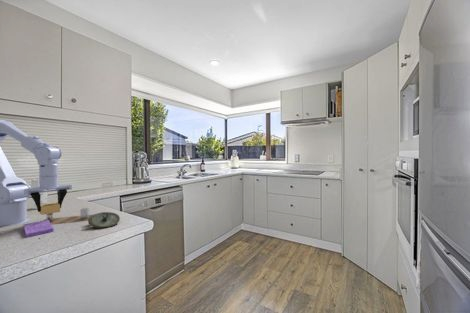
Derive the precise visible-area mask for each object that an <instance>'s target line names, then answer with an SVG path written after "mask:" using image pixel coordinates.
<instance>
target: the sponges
mask: <svg viewBox="0 0 470 313" xmlns="http://www.w3.org/2000/svg"><path fill="white" fill-rule="evenodd" d="M46 219H47V218H46ZM23 230H24V234H25V238H30V237H35V236H39V235H44V234H47V233H52V232H55V230H54V226H53V225H51V223H50V221H49V220H48V219H47V220H45V219H43V220H39V221H35V222H29V223H23Z"/></svg>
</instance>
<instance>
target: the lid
mask: <svg viewBox="0 0 470 313" xmlns="http://www.w3.org/2000/svg"><path fill="white" fill-rule="evenodd" d="M92 215H93V214H92ZM120 220H121V217H120V215H118V214H117V213H116V212H115V213H114V212H111V211H110V212H109V211H107V212H106V211H104V212H103V211H101V212H97V213H95V214H94V215H93V216H91V217H90V218H89V219H88V221H87V222H88V224H89V225H90V227H92V228H95V229H107V228H111V227H113V226H115V225H117V224H118V223H119V222H120Z"/></svg>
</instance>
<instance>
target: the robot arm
mask: <svg viewBox="0 0 470 313" xmlns="http://www.w3.org/2000/svg"><path fill="white" fill-rule="evenodd" d="M8 136H9V137H11V138H12V139H15V140H17V141H18V142H20V146H21V147H22V148H23V149H25V150H27V151H28V152H30V153H32V154H33V155H34V158H35V159H36V162H37V165H38V170H39V172H38V173H39V174H38V176H39V178H38V179H39V184H40V187H38V188H31V185H29V184H28V183H27V182H26V180H25V179H23V178H20V177H18V176H17V175H16V173H15V172H14V169H13V167H12V166H11V163H10V162H9V159H8V158H7V156H6V154H5V152H4V151H3V148H2V147H1V146H0V227H3V226H12V225H13V226H14V225H22V224H25V222H28V221H29V220H32V218H28V212H27V211H28V208H27V206H28V205H27V204H28V202H27V200H29V198H30V197H31V199H32V201H33V200H34V202H35V204H36V206H37V209H36V210H37V212H38V213H39V212H40V211H41V205H40V197H41V195H40V193H42V192H48V193H49V192H50V193H52V192H56V193H57V203H58V204H60V209H62V205H63V201H64V198H65V197H66V195H67V193H68V190H69V191H70V190H71V191H72V190H73V186H72V184H64V185H59V160H60V158H61V157H62V150H61V148H59V147H58V146H51V145H50V143H48V142H45V141H43V140H42V139H41V138H40V136H37V135H28V134H27V133H25V132H24V131H23V130H21V129H19V128H18V127H17V126H15V125H14V123H13V122H11V121H10V120H9V119H0V142H2V141H4V140H5V139H6V138H7V137H8ZM43 190H48V191H43Z"/></svg>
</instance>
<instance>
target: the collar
mask: <svg viewBox="0 0 470 313" xmlns="http://www.w3.org/2000/svg"><path fill="white" fill-rule="evenodd" d="M60 212H61V208H60V204H58V202H51V203H47V204H43V205H41V211H40V212H38V213H39V215H42V216H43V215H46V214H50V213H53V214H55V213H60Z"/></svg>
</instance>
